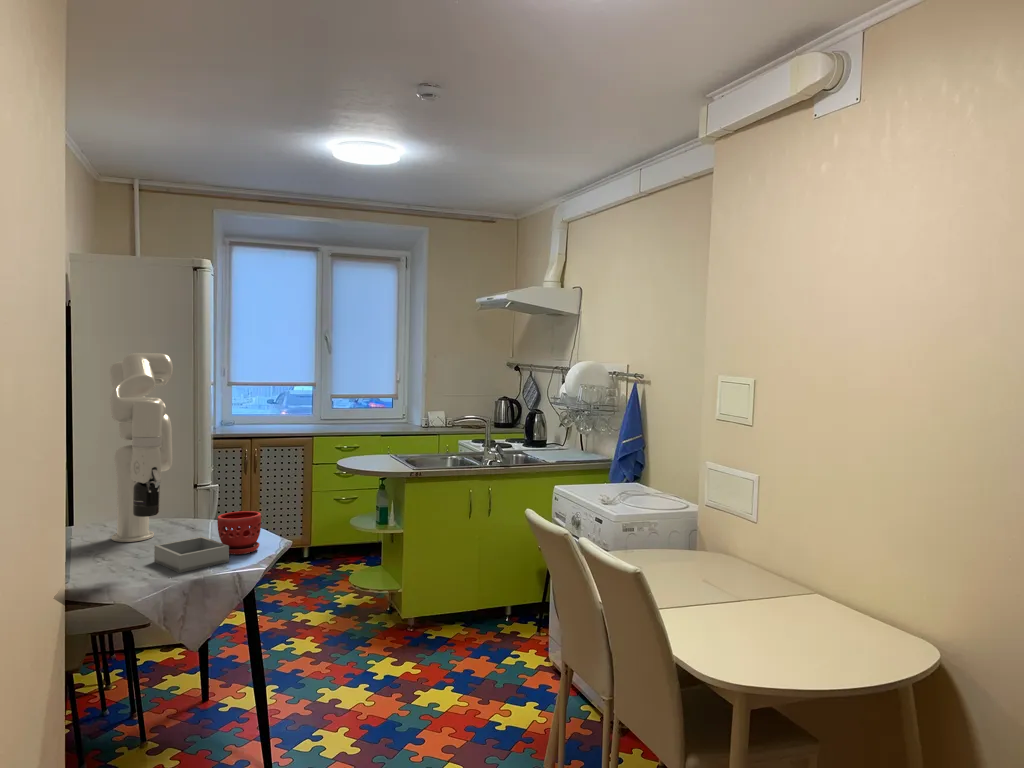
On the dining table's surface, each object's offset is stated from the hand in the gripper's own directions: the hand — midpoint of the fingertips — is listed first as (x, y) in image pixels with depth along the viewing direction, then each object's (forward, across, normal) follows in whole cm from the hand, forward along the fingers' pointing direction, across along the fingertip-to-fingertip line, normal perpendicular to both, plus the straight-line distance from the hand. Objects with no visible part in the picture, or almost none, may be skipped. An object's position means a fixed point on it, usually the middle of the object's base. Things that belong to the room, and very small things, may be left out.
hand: (146, 503), depth 204 cm
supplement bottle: (+4, 0, 0) cm, 4 cm away
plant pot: (+20, +1, +28) cm, 35 cm away
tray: (+19, +2, +12) cm, 23 cm away
